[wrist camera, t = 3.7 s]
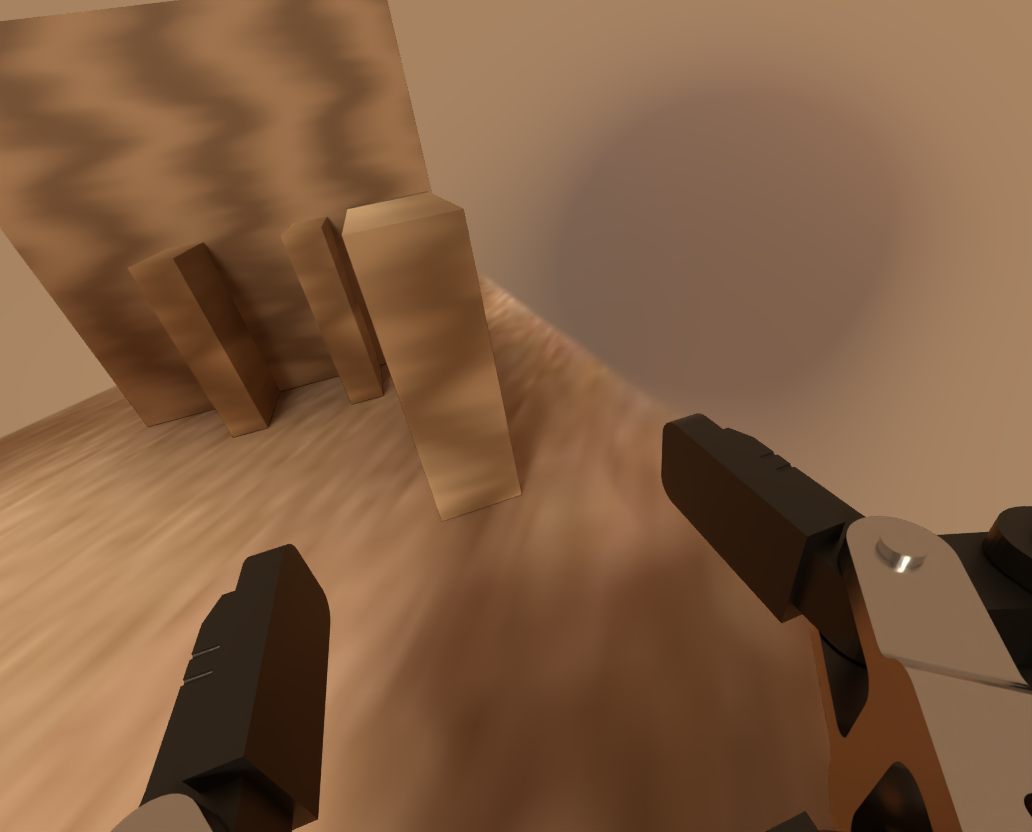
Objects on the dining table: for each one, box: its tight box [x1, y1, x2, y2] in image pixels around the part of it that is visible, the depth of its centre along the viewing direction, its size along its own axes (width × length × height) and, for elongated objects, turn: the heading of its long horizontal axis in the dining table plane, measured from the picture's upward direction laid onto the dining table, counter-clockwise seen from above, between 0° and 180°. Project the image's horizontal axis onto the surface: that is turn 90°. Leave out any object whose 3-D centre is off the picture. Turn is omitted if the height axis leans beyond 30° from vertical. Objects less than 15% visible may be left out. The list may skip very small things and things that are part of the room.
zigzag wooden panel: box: [0, 0, 432, 437], centre depth 25 cm, size 22×7×20 cm, turn 108°
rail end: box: [342, 191, 522, 521], centre depth 18 cm, size 3×8×11 cm, turn 18°
